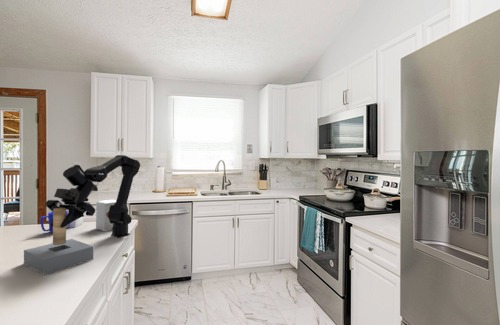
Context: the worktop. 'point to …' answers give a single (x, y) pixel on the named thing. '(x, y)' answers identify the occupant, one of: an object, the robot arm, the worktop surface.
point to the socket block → (57, 256)
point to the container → (75, 222)
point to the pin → (59, 232)
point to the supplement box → (103, 215)
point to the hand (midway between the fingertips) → (56, 226)
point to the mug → (50, 216)
